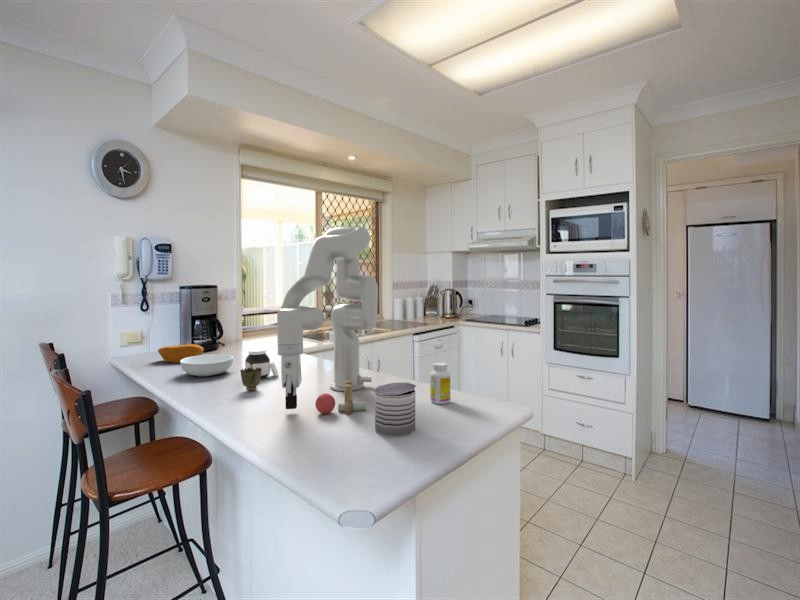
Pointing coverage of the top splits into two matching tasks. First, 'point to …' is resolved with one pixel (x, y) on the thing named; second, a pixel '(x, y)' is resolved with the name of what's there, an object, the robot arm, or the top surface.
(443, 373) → the supplement bottle
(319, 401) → the ball
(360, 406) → the front pin
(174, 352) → the bread
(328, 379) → the top surface
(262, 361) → the spread jar
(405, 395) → the can
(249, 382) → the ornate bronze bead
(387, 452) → the top surface
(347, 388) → the pin
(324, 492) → the top surface
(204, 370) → the serving bowl
